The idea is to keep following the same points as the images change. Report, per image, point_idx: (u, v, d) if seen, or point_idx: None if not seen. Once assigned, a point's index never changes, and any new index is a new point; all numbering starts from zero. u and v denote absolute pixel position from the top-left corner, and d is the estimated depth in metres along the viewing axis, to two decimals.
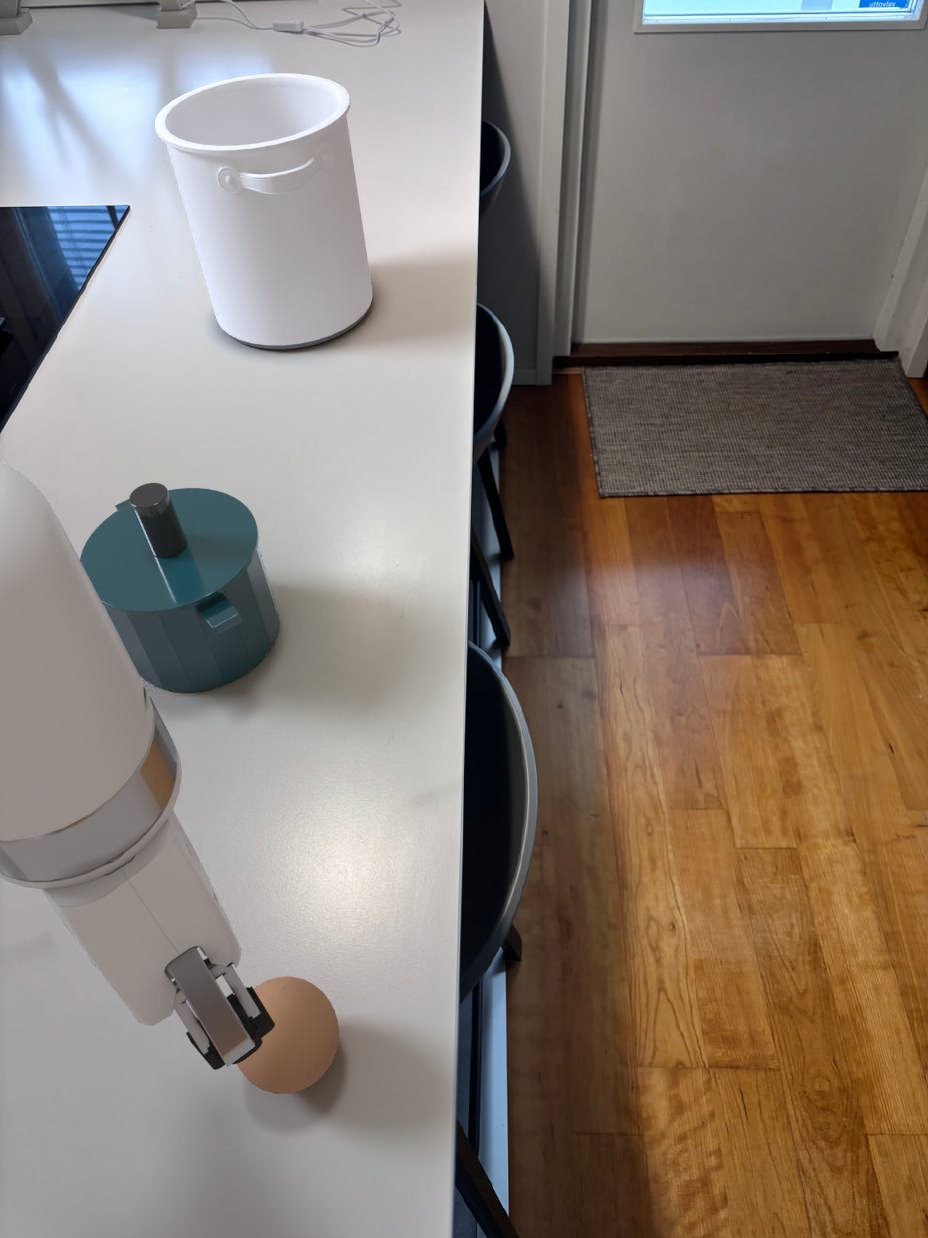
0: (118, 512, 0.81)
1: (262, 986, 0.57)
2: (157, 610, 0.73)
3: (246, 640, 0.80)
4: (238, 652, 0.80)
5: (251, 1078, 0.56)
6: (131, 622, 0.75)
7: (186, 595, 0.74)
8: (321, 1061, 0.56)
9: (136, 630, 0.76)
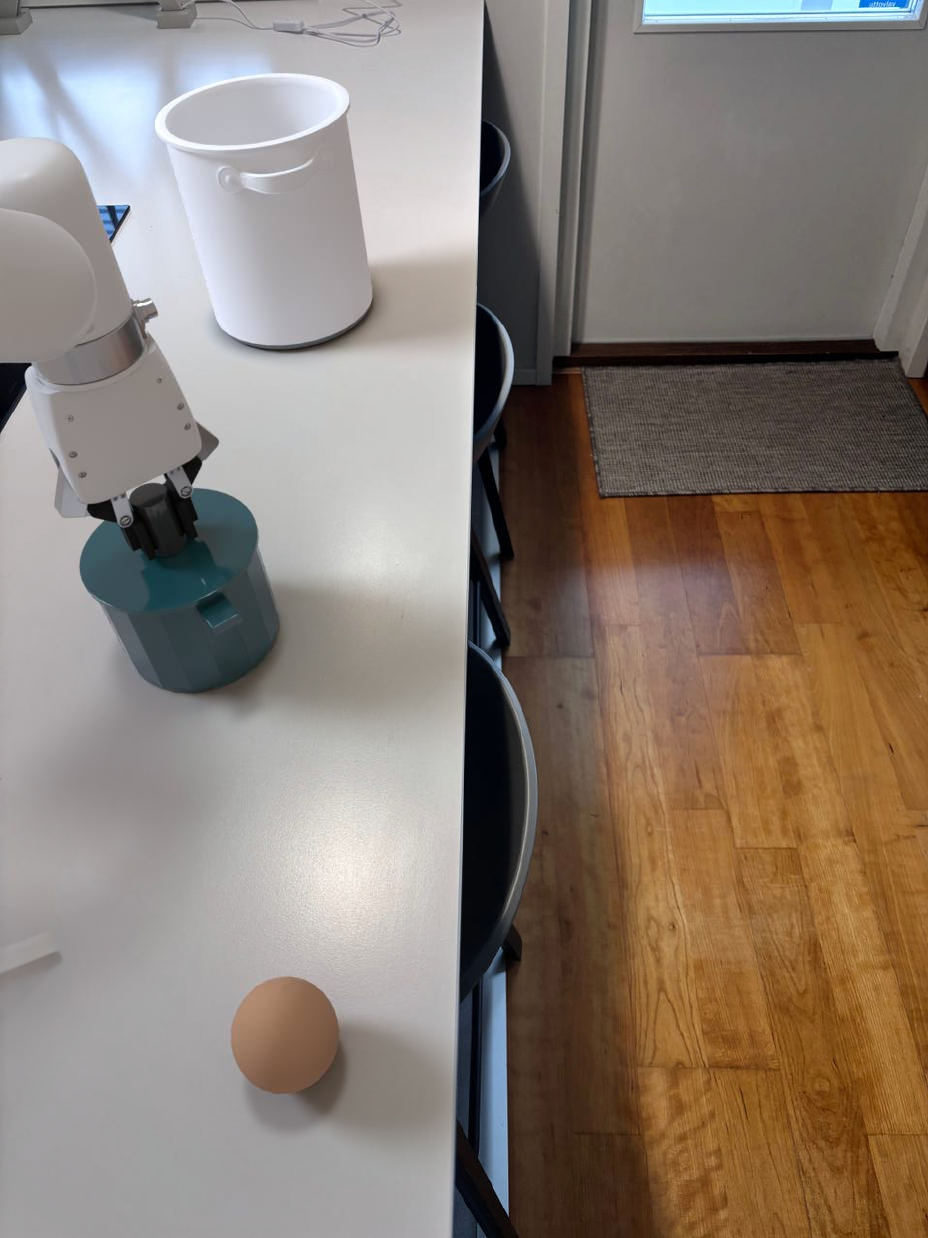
0: None
1: (262, 986, 0.57)
2: (157, 610, 0.73)
3: (246, 640, 0.80)
4: (238, 652, 0.80)
5: (251, 1078, 0.56)
6: (131, 622, 0.75)
7: (186, 595, 0.74)
8: (321, 1061, 0.56)
9: (136, 630, 0.76)
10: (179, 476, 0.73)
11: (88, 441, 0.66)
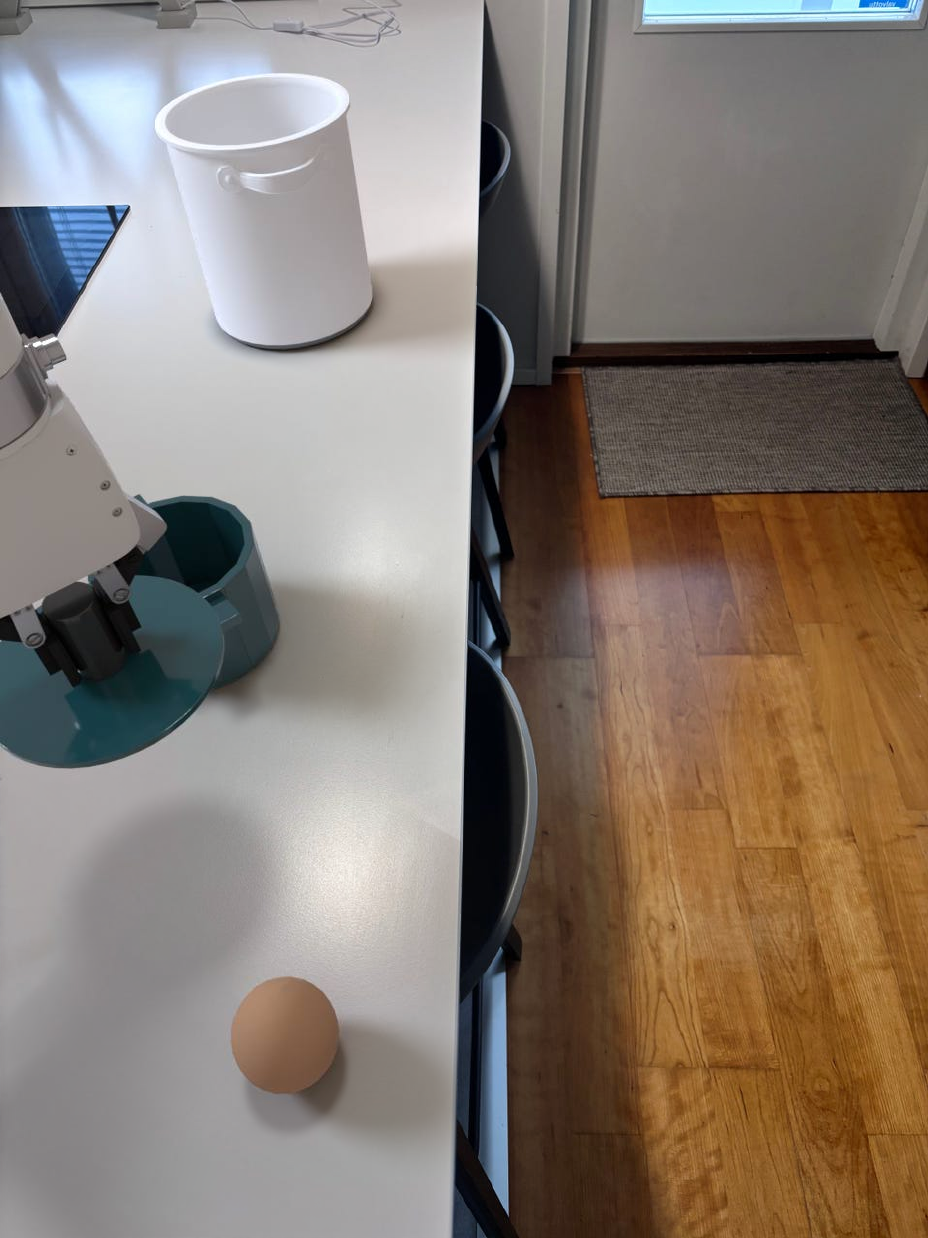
0: None
1: (262, 986, 0.57)
2: (80, 762, 0.53)
3: (246, 640, 0.80)
4: (238, 652, 0.80)
5: (251, 1078, 0.56)
6: None
7: (121, 739, 0.53)
8: (321, 1061, 0.56)
9: None
10: (110, 576, 0.53)
11: None
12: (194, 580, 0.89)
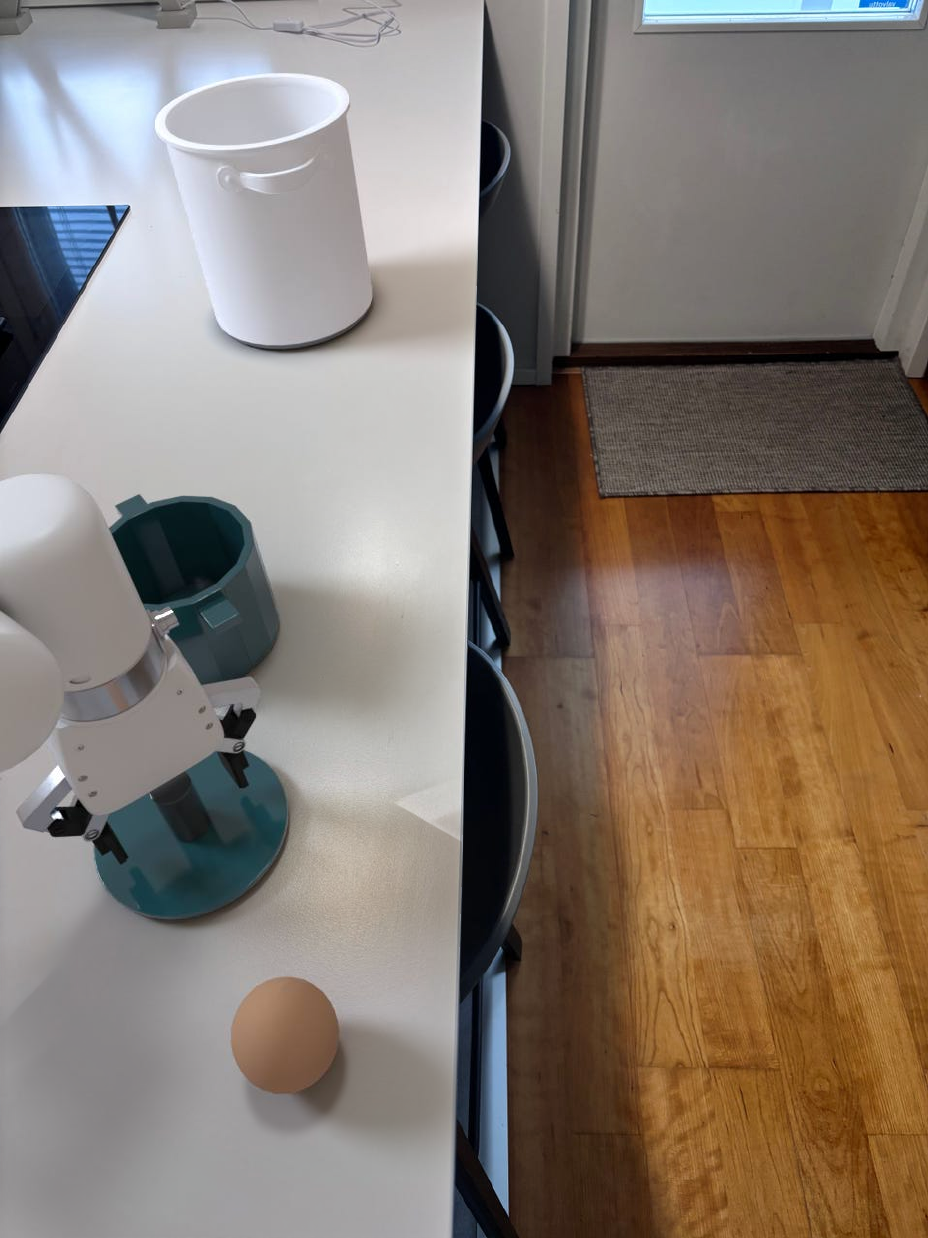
0: None
1: (262, 986, 0.57)
2: (180, 915, 0.67)
3: (246, 640, 0.80)
4: (238, 652, 0.80)
5: (251, 1078, 0.56)
6: None
7: (211, 895, 0.68)
8: (321, 1061, 0.56)
9: None
10: (222, 744, 0.66)
11: (100, 764, 0.59)
12: (194, 580, 0.89)
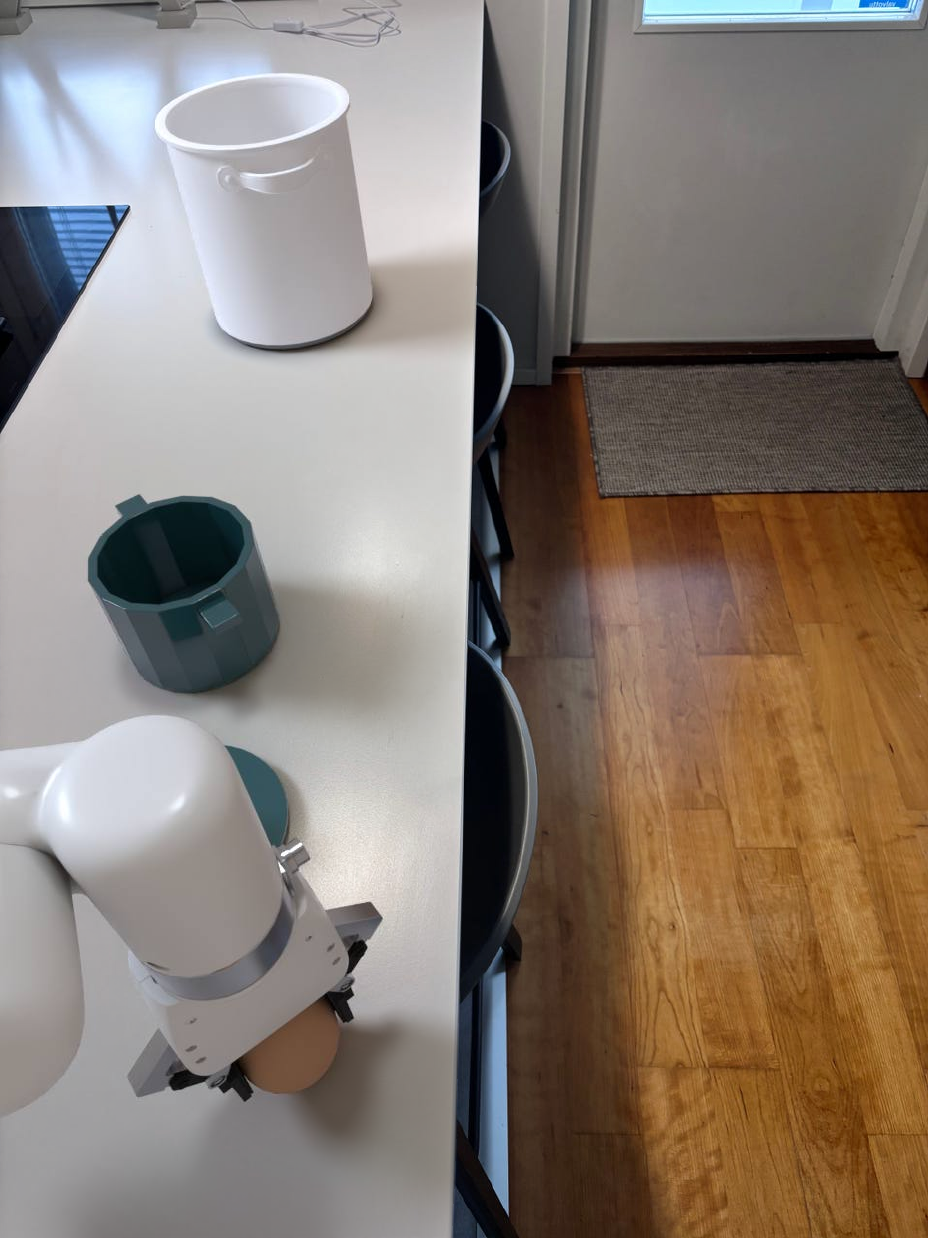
0: None
1: None
2: None
3: (246, 640, 0.80)
4: (238, 652, 0.80)
5: (251, 1078, 0.56)
6: (131, 622, 0.75)
7: None
8: (321, 1061, 0.56)
9: (136, 630, 0.76)
10: None
11: (213, 1031, 0.47)
12: (194, 580, 0.89)
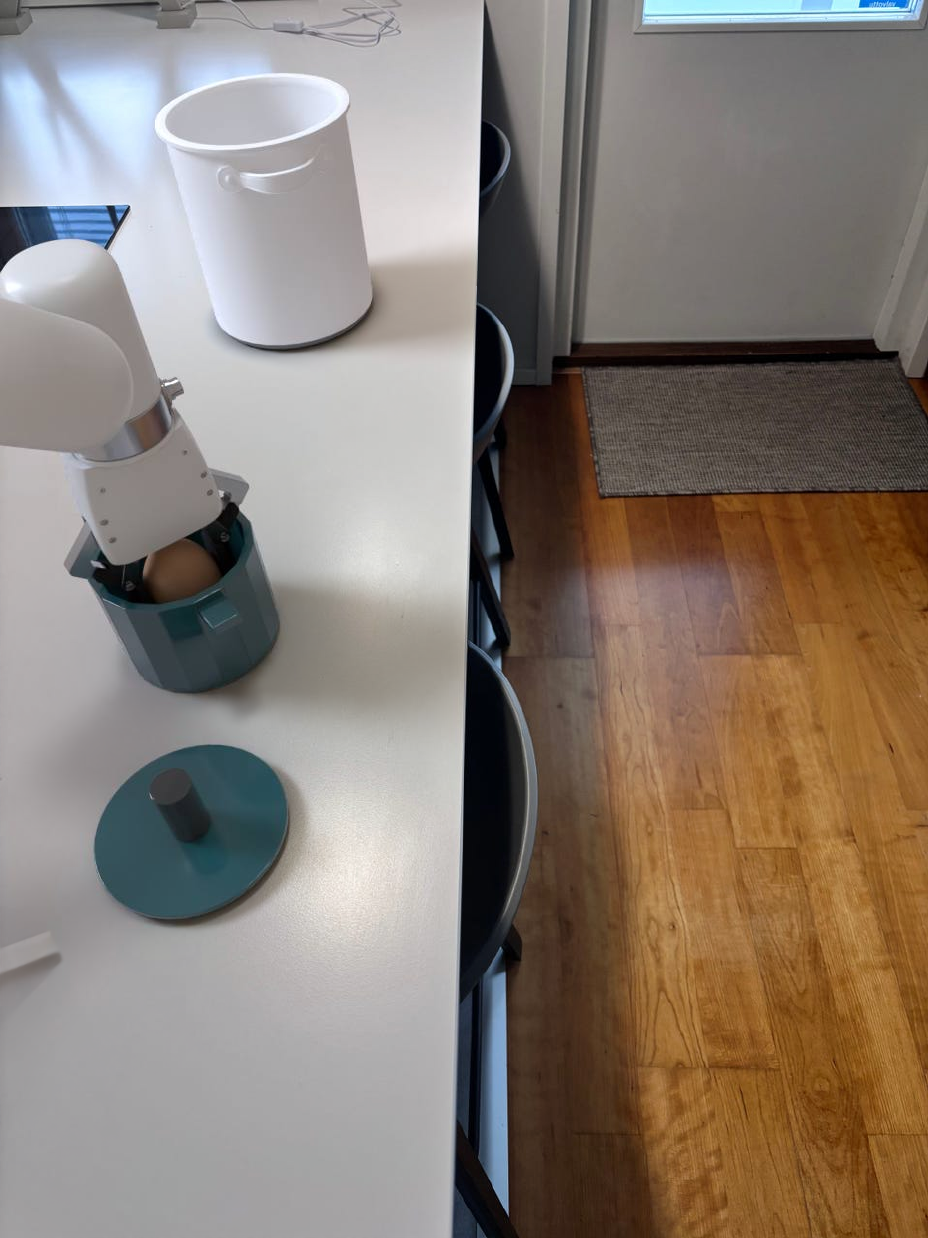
0: (135, 776, 0.75)
1: None
2: (180, 915, 0.67)
3: (246, 640, 0.80)
4: (238, 652, 0.80)
5: (156, 599, 0.79)
6: (131, 622, 0.75)
7: (211, 895, 0.68)
8: None
9: (136, 630, 0.76)
10: (213, 526, 0.78)
11: (118, 510, 0.70)
12: None
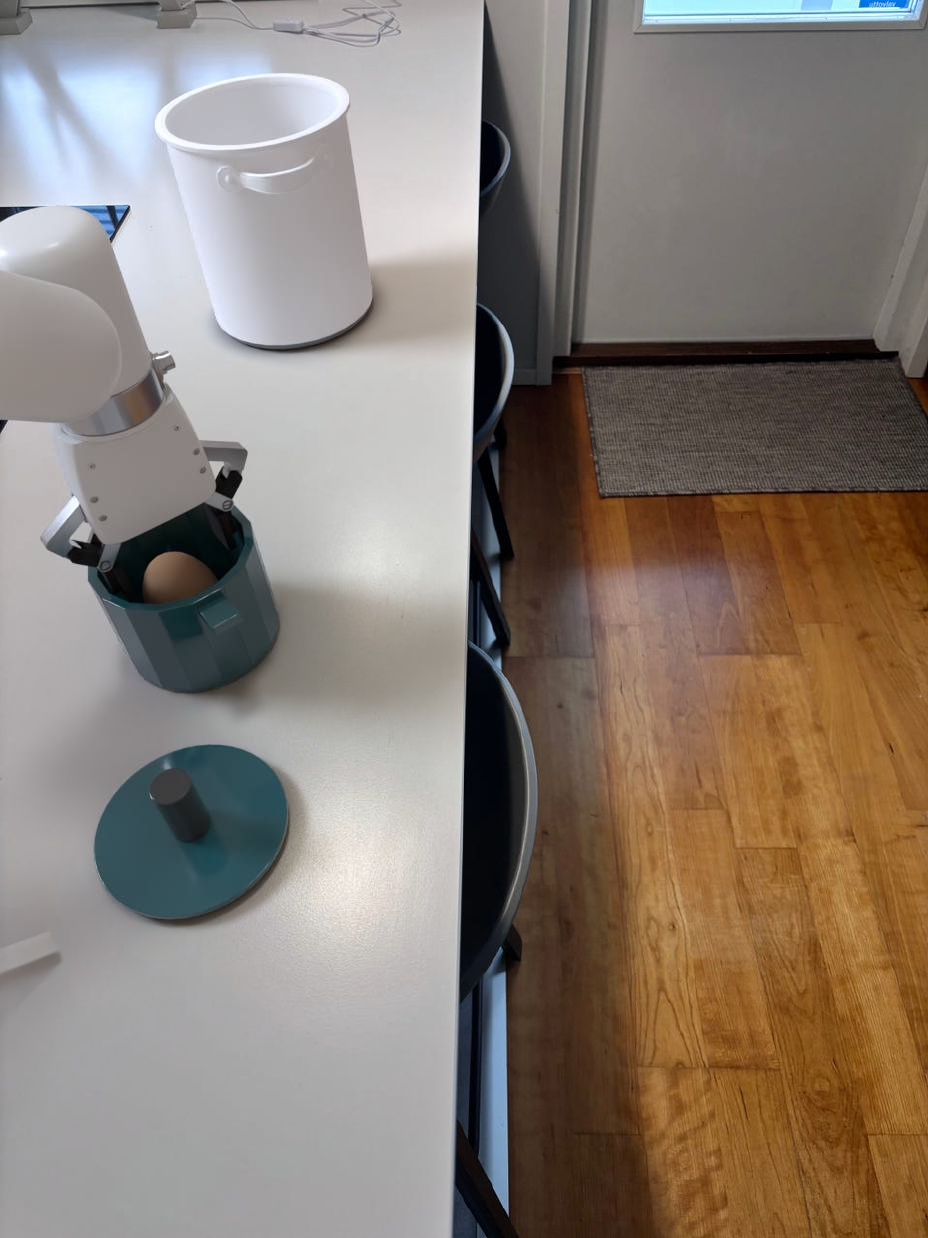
0: (135, 776, 0.75)
1: None
2: (180, 915, 0.67)
3: (246, 640, 0.80)
4: (238, 652, 0.80)
5: None
6: (131, 622, 0.75)
7: (211, 895, 0.68)
8: None
9: (136, 630, 0.76)
10: (213, 497, 0.76)
11: (109, 487, 0.69)
12: None
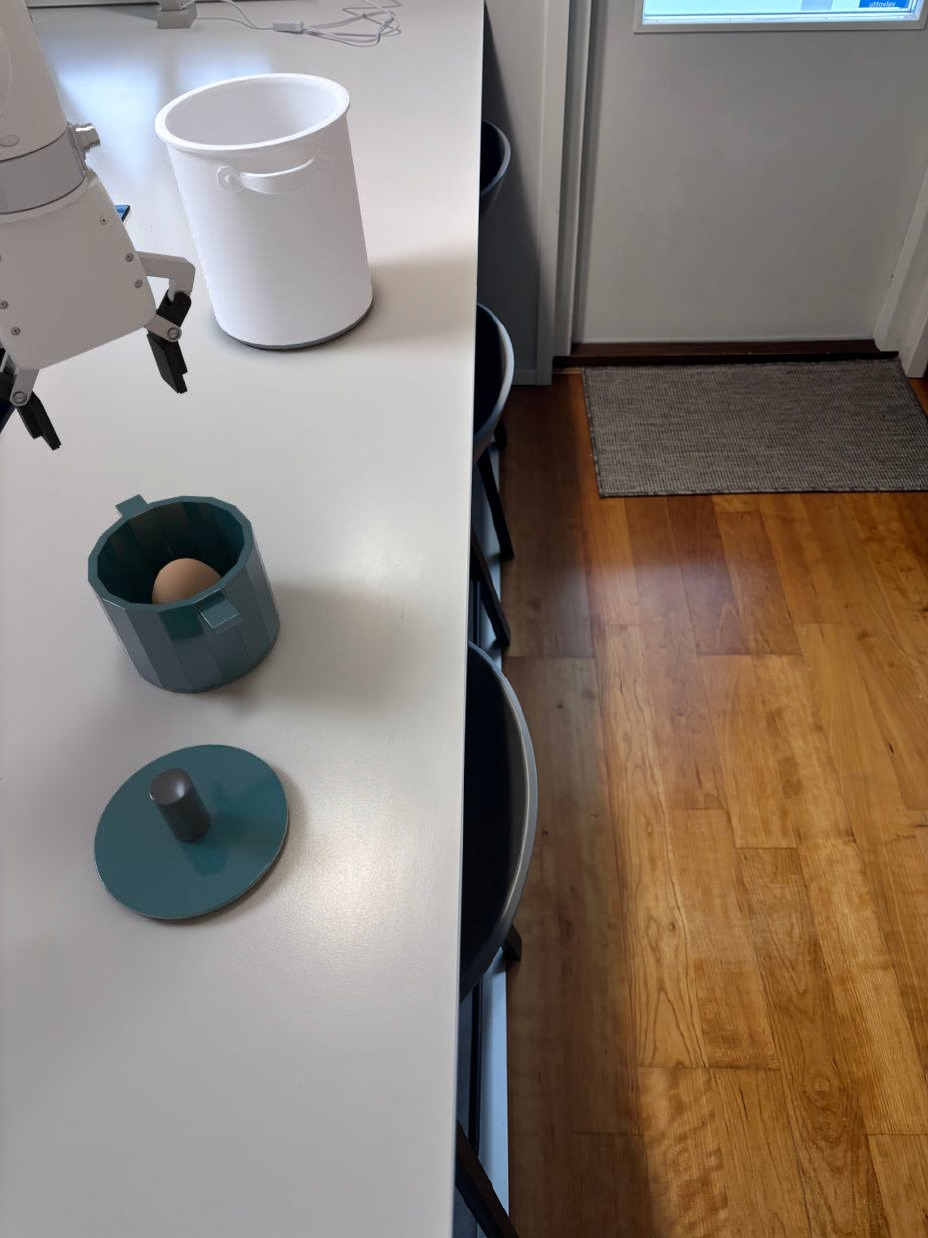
0: (135, 776, 0.75)
1: None
2: (180, 915, 0.67)
3: (246, 640, 0.80)
4: (238, 652, 0.80)
5: None
6: (131, 622, 0.75)
7: (211, 895, 0.68)
8: None
9: (136, 630, 0.76)
10: (155, 322, 0.65)
11: (20, 289, 0.57)
12: None
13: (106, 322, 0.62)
